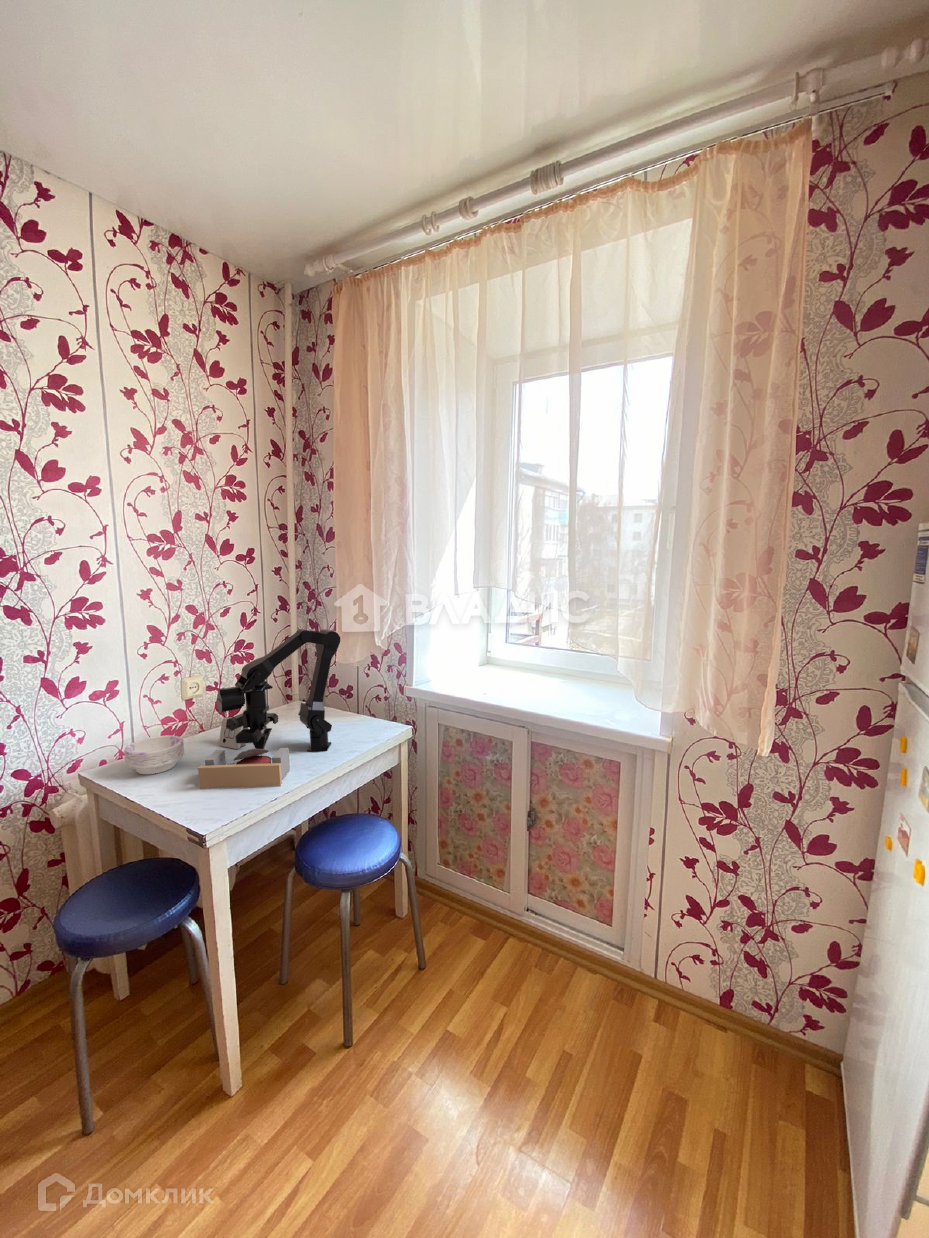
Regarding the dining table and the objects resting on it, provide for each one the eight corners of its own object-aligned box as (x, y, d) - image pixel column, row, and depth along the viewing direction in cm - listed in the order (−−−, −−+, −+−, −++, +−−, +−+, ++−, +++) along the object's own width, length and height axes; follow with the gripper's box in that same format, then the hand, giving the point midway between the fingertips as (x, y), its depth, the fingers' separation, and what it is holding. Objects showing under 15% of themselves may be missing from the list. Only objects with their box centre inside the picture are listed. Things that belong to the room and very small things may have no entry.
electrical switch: (218, 746, 167) (218, 718, 166) (231, 742, 171) (231, 715, 171) (237, 750, 163) (237, 722, 162) (250, 746, 167) (250, 719, 167)
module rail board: (216, 772, 146) (214, 750, 145) (291, 770, 146) (290, 747, 145) (199, 788, 136) (197, 764, 135) (280, 785, 136) (278, 761, 136)
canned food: (238, 792, 143) (218, 764, 141) (257, 773, 153) (239, 747, 151) (267, 778, 140) (248, 749, 139) (285, 759, 150) (267, 732, 148)
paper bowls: (197, 761, 154) (194, 737, 153) (151, 782, 140) (149, 755, 139) (161, 755, 160) (159, 731, 158) (114, 775, 145) (111, 749, 144)
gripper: (242, 696, 158) (245, 743, 160) (214, 715, 139) (219, 768, 142) (277, 695, 158) (280, 742, 160) (254, 714, 140) (258, 767, 142)
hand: (260, 754), depth 151 cm, fingers closed
